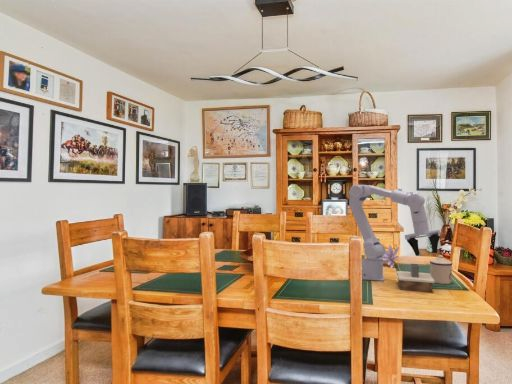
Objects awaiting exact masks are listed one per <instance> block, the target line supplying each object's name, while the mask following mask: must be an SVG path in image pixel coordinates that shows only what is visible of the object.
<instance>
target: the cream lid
mask: <svg viewBox="0 0 512 384" xmlns="http://www.w3.org/2000/svg"><path fill="white" fill-rule="evenodd" d="M419 269H420V267H419V265H418V264H417V263H410V271H406V270H405V271H403V270H402V271H401V270H396V274H397V279H398V278H399V280H404V281H416V282H428V283H433V284H436V283H435V281H434V279H433V278H432V276H431V275H430V272H420V271H419Z"/></svg>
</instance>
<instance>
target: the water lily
mask: <svg viewBox="0 0 512 384" xmlns="http://www.w3.org/2000/svg"><path fill="white" fill-rule="evenodd" d="M399 247H400V246H397V247H396V248H395V249H393V248H392V245H391V244H389V245H388V248H387V249H388V250H386V249H385V254H384V255H383V265H384V264H386V263H387V265H388V266H389V267H390V268H391V269H393V268H394V265H395V266H397V263H396V261H395V260H398V259H399V258H400V257H399V255H397V253H398V252H399V250H400V248H399Z"/></svg>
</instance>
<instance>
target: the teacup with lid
mask: <svg viewBox="0 0 512 384" xmlns="http://www.w3.org/2000/svg"><path fill="white" fill-rule="evenodd" d="M452 265H453V261H451V260H449V259H447V258H445V257H444V255H442V254H440V255H439V254H438V256H437V257H435V258H432V259H430V260H429V273H430V275H431V276H432V278H433V279H434V281H435V283H434V284H441V285H446V284H447V285H449V284H451V283H452V277H453V275H452V274H453V273H452V270H453V269H452V268H453V267H452Z"/></svg>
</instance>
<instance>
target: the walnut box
mask: <svg viewBox="0 0 512 384" xmlns="http://www.w3.org/2000/svg"><path fill="white" fill-rule="evenodd" d="M397 279H398V281H397V283H398V286H399V290H401V291H402V290H403V291H413V292H422V293H423V292H424V293H433V287H434V286H433V284H434V283H428V282H416V281H404V280H399V278H398V277H397Z"/></svg>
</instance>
